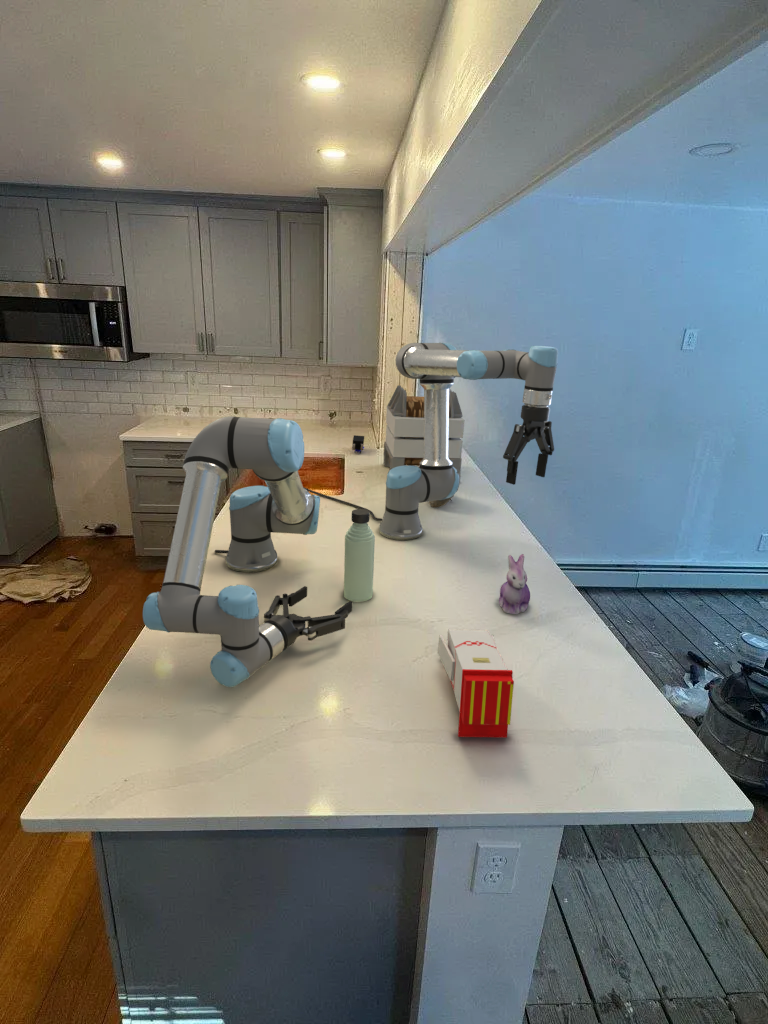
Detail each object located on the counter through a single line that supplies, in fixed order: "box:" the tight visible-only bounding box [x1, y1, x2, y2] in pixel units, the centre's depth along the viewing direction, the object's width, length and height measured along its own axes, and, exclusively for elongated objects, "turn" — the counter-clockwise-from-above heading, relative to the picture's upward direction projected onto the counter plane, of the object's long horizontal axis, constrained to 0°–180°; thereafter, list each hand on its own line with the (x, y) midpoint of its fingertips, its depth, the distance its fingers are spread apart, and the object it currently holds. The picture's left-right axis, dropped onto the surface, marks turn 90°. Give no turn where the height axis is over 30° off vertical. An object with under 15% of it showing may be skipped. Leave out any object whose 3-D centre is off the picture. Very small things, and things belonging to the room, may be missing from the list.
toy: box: [437, 628, 515, 738], centre depth 117 cm, size 12×13×30 cm
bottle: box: [343, 522, 376, 603], centre depth 152 cm, size 8×8×24 cm
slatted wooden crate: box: [383, 384, 465, 483], centre depth 268 cm, size 34×33×41 cm
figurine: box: [498, 553, 531, 615], centre depth 151 cm, size 9×10×15 cm
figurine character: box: [351, 435, 365, 454], centre depth 310 cm, size 7×8×15 cm
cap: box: [351, 508, 371, 524], centre depth 148 cm, size 5×5×2 cm
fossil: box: [428, 485, 460, 509], centre depth 235 cm, size 22×10×15 cm
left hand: (328, 598), depth 142 cm, fingers open, 13 cm apart
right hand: (525, 479), depth 162 cm, fingers open, 13 cm apart
